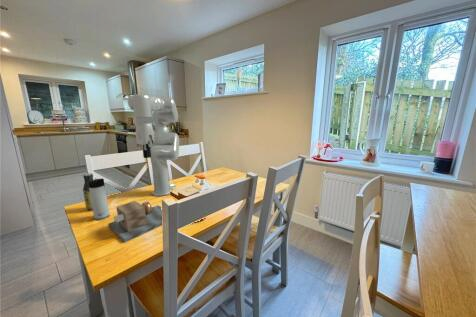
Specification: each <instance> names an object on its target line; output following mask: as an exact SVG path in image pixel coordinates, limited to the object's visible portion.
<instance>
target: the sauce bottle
mask: <svg viewBox="0 0 476 317" xmlns="http://www.w3.org/2000/svg"><path fill="white" fill-rule="evenodd" d="M82 176H83V179H84V184H83V188H82V192H83V200H84V204H85V209H86V210H87V211H89V212H91V211H92V212H93V208H92V202H91V197H90V191H89V184H88V182H89V181H93V180H94V174H93V173H92V172H91V173H90V172H89V173H84V174H83V175H82Z"/></svg>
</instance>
